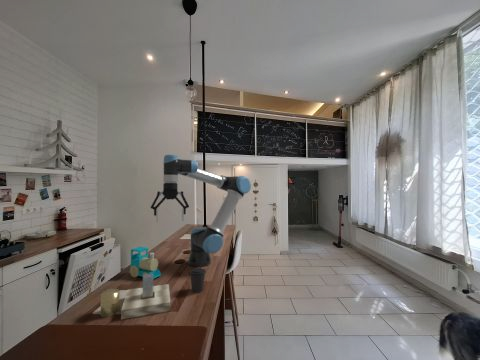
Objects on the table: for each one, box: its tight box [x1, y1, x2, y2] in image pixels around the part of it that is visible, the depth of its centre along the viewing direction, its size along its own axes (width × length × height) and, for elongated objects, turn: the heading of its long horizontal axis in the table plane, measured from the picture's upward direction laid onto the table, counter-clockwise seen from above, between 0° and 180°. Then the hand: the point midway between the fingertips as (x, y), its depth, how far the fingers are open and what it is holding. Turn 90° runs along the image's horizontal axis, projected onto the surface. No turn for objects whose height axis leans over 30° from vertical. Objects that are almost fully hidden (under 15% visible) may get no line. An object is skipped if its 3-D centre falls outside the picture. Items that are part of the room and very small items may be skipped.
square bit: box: [142, 274, 154, 299], centre depth 97 cm, size 4×4×12 cm
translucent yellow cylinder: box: [99, 288, 120, 318], centre depth 90 cm, size 6×6×8 cm
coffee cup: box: [189, 267, 207, 294], centre depth 109 cm, size 8×8×10 cm
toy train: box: [129, 246, 162, 280], centre depth 127 cm, size 8×17×15 cm, turn 68°
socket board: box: [120, 283, 171, 321], centre depth 97 cm, size 18×18×4 cm
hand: (170, 221), depth 123 cm, fingers open, 13 cm apart
